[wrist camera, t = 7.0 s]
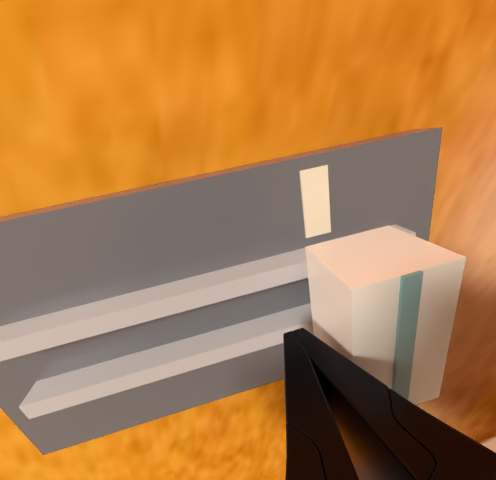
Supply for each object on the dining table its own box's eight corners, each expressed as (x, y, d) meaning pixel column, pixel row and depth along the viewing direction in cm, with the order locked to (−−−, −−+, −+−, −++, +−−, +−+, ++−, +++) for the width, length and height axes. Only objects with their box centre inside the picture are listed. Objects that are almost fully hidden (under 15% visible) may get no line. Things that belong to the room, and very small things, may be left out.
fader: (362, 317, 13) (441, 399, 9) (302, 335, 13) (355, 430, 9) (363, 214, 11) (470, 258, 7) (290, 232, 11) (353, 291, 6)
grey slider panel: (398, 320, 16) (434, 351, 14) (58, 424, 14) (28, 484, 12) (413, 129, 12) (471, 125, 9) (-91, 236, 9) (-195, 268, 7)
